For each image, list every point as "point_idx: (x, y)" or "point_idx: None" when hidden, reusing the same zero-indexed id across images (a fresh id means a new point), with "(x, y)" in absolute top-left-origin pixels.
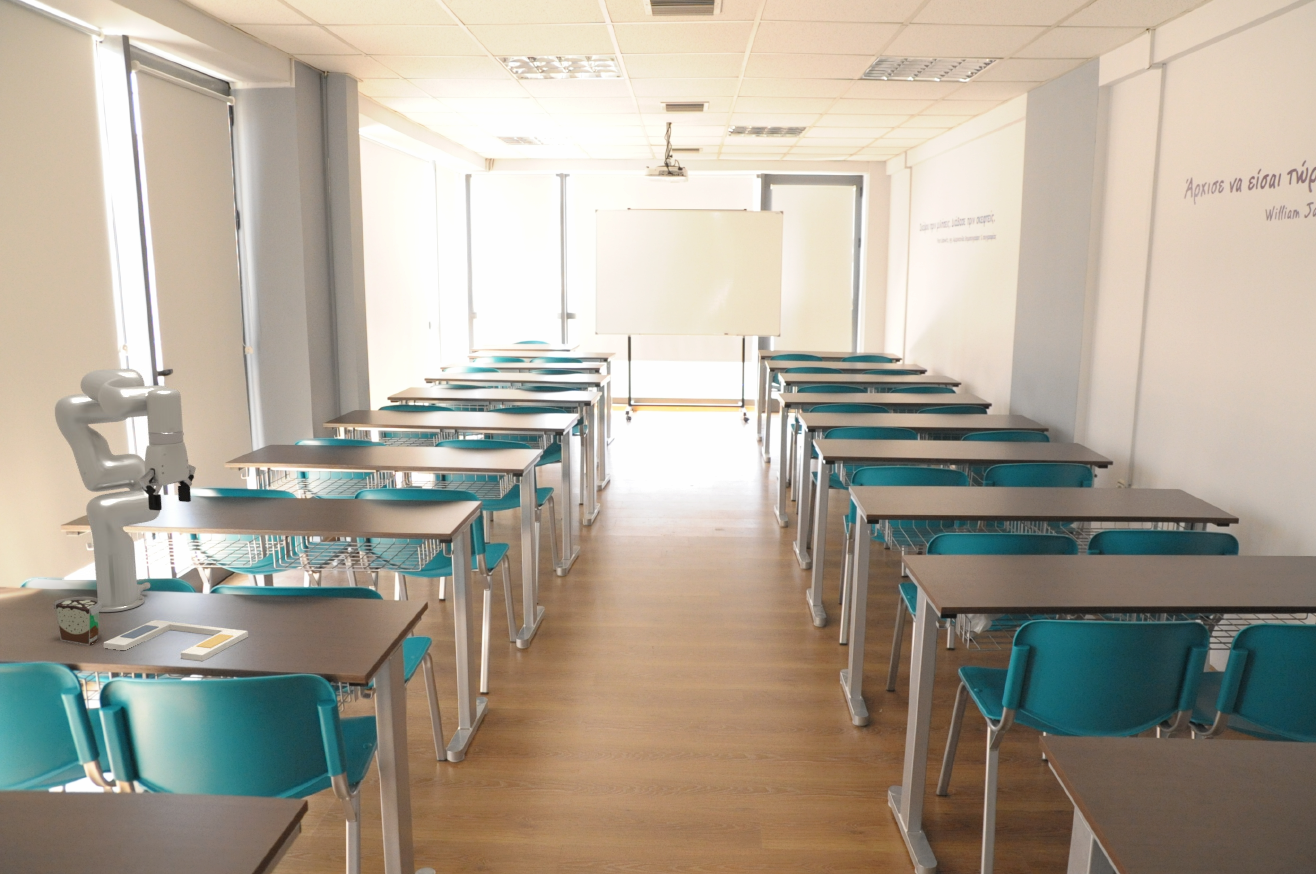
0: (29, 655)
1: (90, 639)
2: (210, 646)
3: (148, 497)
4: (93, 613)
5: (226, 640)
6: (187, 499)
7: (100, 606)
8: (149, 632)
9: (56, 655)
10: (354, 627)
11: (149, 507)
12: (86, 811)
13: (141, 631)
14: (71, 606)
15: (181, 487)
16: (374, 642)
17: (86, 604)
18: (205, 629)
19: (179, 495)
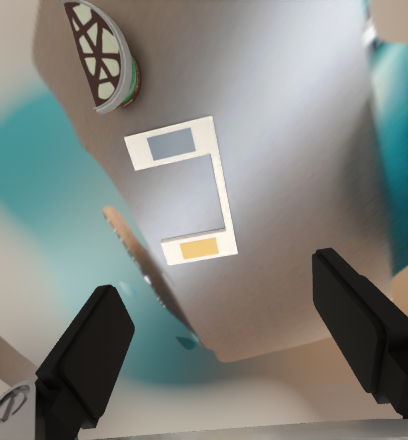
0: (52, 64)
1: (118, 107)
2: (185, 257)
3: (56, 347)
4: (103, 112)
5: (206, 256)
6: (318, 310)
7: (121, 96)
8: (177, 157)
9: (78, 102)
10: (300, 312)
11: (95, 294)
12: (17, 358)
13: (172, 147)
14: (79, 55)
15: (370, 355)
16: (274, 342)
17: (104, 67)
18: (221, 207)
19: (330, 281)
